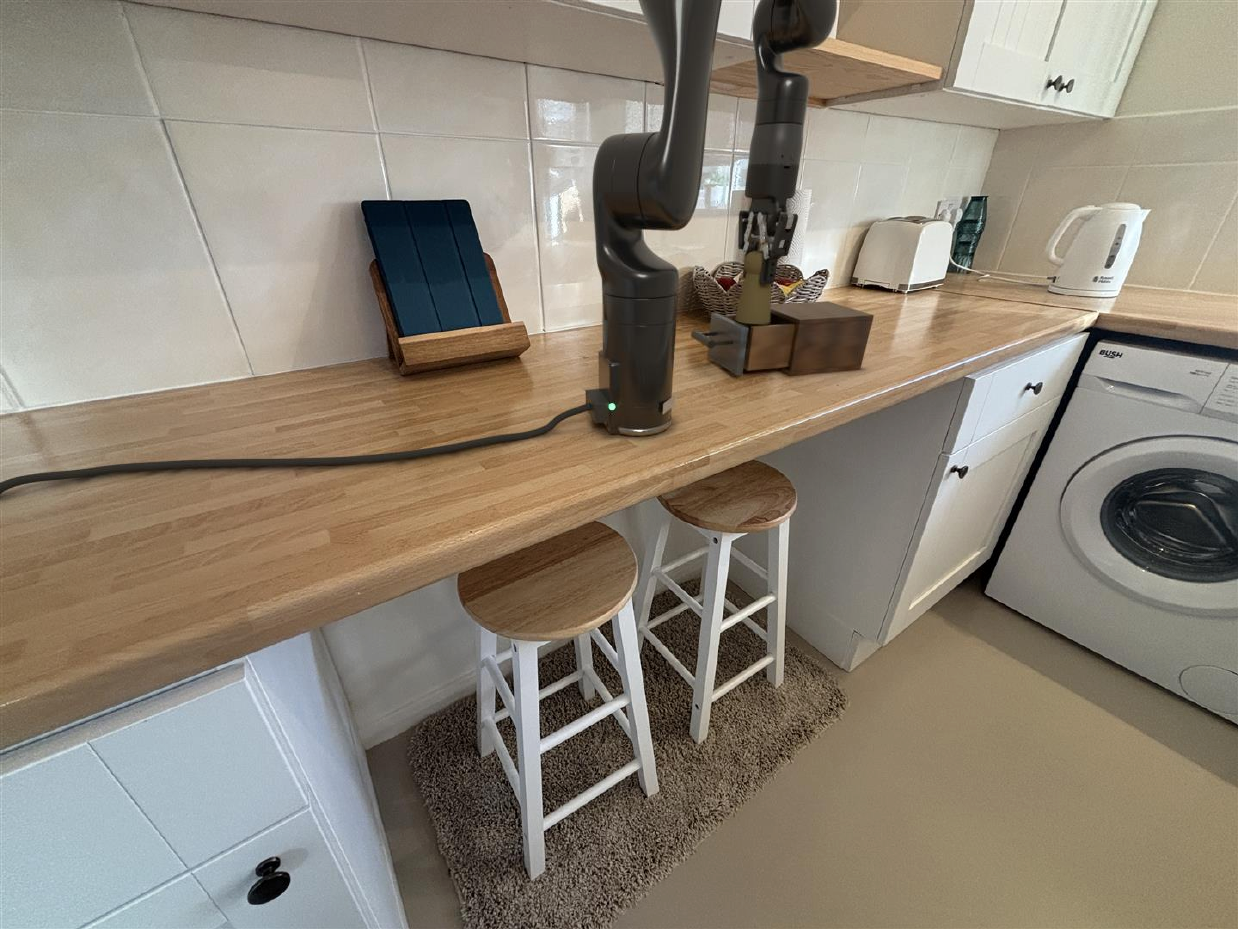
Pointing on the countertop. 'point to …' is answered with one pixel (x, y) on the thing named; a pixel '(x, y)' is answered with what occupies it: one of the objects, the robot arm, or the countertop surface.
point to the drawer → (748, 343)
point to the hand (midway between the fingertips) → (757, 280)
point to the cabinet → (825, 337)
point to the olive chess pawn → (754, 293)
